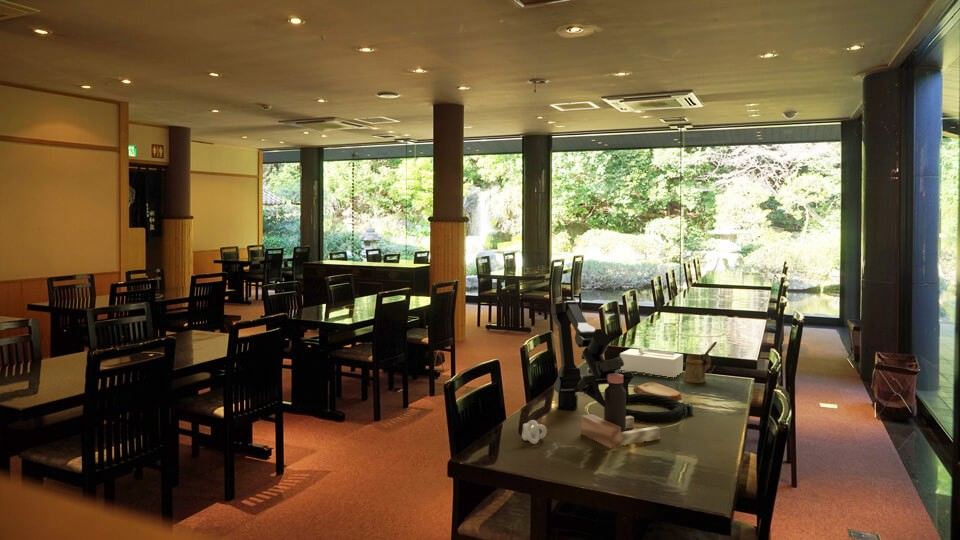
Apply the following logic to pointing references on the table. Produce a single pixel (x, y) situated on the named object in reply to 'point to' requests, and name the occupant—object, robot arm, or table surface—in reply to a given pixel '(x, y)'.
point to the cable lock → (675, 414)
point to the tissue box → (652, 362)
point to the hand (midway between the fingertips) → (616, 404)
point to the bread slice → (657, 390)
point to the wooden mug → (697, 366)
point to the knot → (529, 431)
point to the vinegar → (615, 401)
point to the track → (615, 431)
